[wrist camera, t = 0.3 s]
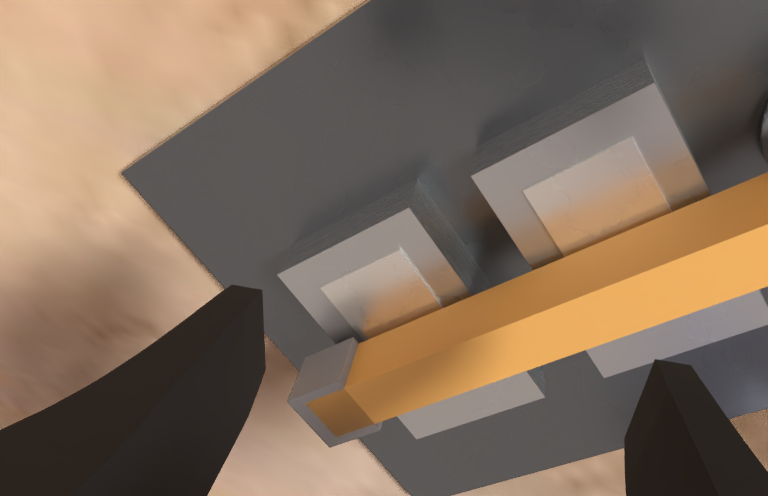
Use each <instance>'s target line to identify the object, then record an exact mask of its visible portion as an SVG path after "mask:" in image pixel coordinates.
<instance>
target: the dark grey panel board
mask: <svg viewBox="0 0 768 496" xmlns="http://www.w3.org/2000/svg"><path fill="white" fill-rule="evenodd" d="M643 59H645V60H646V62H647V64H648V66H649V68H650V70H651V72H652V74H653V76H654V78H655V80H656V82H657V84H658V86H659V88H660V90H661V92H662V94H663V96H664V98H665V100H666V102H667V104H668V106H669V108H670V109H671V111H672V113H673V115H674V117H675V119H676V121H677V123H678V125H679V127H680V129H681V131H682V133H683V135H684V137H685V139H686V141H687V143H688V145H689V147H690V149H691V151H692V153H693V155H694V157H695V159H696V161H697V163H698V165H699V167H700V169H701V171H702V173H703V175H704V177H705V179H706V181H707V183H708V185H709V187H710V189H711V191H712V193H713V195H714V194H717V193H719V192H721V191H724V190H726V189H729V188H731V187H733V186H736V185H738V184H741V183H743V182H745V181H748V180H750V179H752V178H755V177H757V176H760V175H762V174H764V173H767V172H768V0H366V1H364V2H363V3H361V4H360V5H359V6H357V7H356V8H354V9H353V10H351V11H350V12H348V13H347V14H346V15H344V16H343V17H341V18H340V19H338V20H337V21H335V22H334V23H333V24H331V25H330V26H328V27H327V28H325V29H324V30H322V31H321V32H320V33H318V34H317V35H315V36H314V37H312V38H311V39H309V40H308V41H307V42H305V43H304V44H302V45H301V46H299V47H298V48H297V49H295V50H294V51H292V52H291V53H289V54H288V55H286V56H285V57H284V58H282V59H281V60H279V61H278V62H276V63H275V64H273V65H272V66H271V67H269V68H268V69H266V70H265V71H263V72H262V73H260V74H259V75H258V76H256V77H255V78H253V79H252V80H250V81H249V82H247V83H246V84H245V85H243V86H242V87H240V88H239V89H237V90H236V91H234V92H233V93H232V94H230V95H229V96H227V97H226V98H224V99H223V100H222V101H220V102H219V103H217V104H216V105H214V106H213V107H211V108H210V109H209V110H207V111H206V112H204V113H203V114H201V115H200V116H198V117H197V118H196V119H194V120H193V121H191V122H190V123H188V124H187V125H185V126H184V127H183V128H181V129H180V130H178V131H177V132H175V133H174V134H172V135H171V136H170V137H168V138H167V139H165V140H164V141H162V142H161V143H159V144H158V145H157V146H155V147H154V148H152V149H151V150H149V151H148V152H147V153H145V154H144V155H142V156H141V157H139V158H138V159H136V160H135V161H134V162H132V163H131V164H130V165H129V166H128V167H127V168H126V169H125V170H124V171H122V172H121V173H122V174H123V175H124V176H125V177H126V179H127V180H128V181H129V182H130V183H131V184H132V185H133V186H134V187H135V189H136V190H137V191H138V192H139V193H140V194H141V195H142V196H143V198H144V199H145V200H146V201H147V202H148V203H149V204H150V205H151V206H152V208H153V209H154V210H155V211H156V212H157V213H158V214H159V215H160V216H161V218H162V219H163V220H164V221H165V222H166V223H167V224H168V225H169V227H170V228H171V229H172V230H173V231H174V232H175V233H176V234H177V235H178V237H179V238H180V239H181V240H182V241H183V242H184V243H185V244H186V245H187V247H188V248H189V249H190V250H191V251H192V252H193V253H194V254H195V256H196V257H197V258H198V259H199V260H200V261H201V262H202V263H203V264H204V266H205V267H206V268H207V269H208V270H209V271H210V272H211V273H212V274H213V276H214V277H215V278H216V279H217V280H218V281H219V282H220V283H221V285H222V286H223V287H224V288H225V289H226V288H228V287H229V286H230V285H237V286H243V287H249V288H255V289H260V290H262V291H263V317H264V333H265V334H266V335H267V336H268V337H269V338H270V339H271V340H272V341H273V343H274V344H275V345H276V346H277V347H278V348H279V349H280V350H281V351H282V353H283V354H284V355H285V356H286V357H287V358H288V359H289V360H290V362H291V363H292V364H293V365H294V366H295V367H296V368H297V369H298V370H299V371H300V369H301V367H302V364H303V362H304V359H305V357H308V356H310V355H312V354H315V353H317V352H319V351H322V350H324V349H326V348H329V347H331V346H333V345H336V344H335V343H334V342H333V340H332V339H331V338H330V337H329V336H328V334H327V333H326V332H325V331H324V330H323V329H322V327H321V326H320V325H319V324H318V323H317V322H316V320H315V319H314V318H313V317H312V316H311V314H310V313H309V312H308V311H307V310H306V309H305V307H304V306H303V305H302V304H301V303H300V302H299V300H298V299H297V298H296V297H295V296H294V294H293V293H292V292H291V291H290V290H289V289H288V287H287V286H286V285H285V284H284V283H283V281H282V280H281V279H280V278H279V277H278V276H277V274H278V272H279V270H280V268H281V266H282V264H283V263H284V261H285V259H286V257H287V255H288V253H289V251H290V250H291V248H292V246H293V244H294V243H296V242H298V241H300V240H302V239H304V238H306V237H307V236H309V235H311V234H313V233H315V232H317V231H319V230H321V229H323V228H324V227H326V226H328V225H330V224H332V223H334V222H336V221H338V220H340V219H342V218H343V217H345V216H347V215H349V214H351V213H353V212H355V211H357V210H359V209H360V208H362V207H364V206H366V205H368V204H370V203H372V202H374V201H376V200H377V199H379V198H381V197H383V196H385V195H387V194H389V193H391V192H393V191H395V190H396V189H398V188H400V187H402V186H404V185H406V184H408V183H410V182H412V181H413V180H415V179H417V178H419V180H420V181H421V183H422V184H423V186H424V187H425V188H426V190H427V191H428V193H429V194H430V196H431V197H432V199H433V200H434V201H435V203H436V204H437V206H438V207H439V209H440V210H441V211H442V213H443V214H444V216H445V217H446V219H447V220H448V221H449V223H450V224H451V226H452V227H453V229H454V230H455V232H456V233H457V234H458V236H459V237H460V239H461V240H462V242H463V243H464V244H465V246H466V247H467V249H468V250H469V252H470V253H471V254H472V256H473V257H474V259H475V260H476V262H477V263H478V265H479V266H480V267H481V269H482V270H483V272H484V273H485V275H486V276H487V277H488V279H489V280H490V282H491V283H492V285H493V286H494V287H495V286H497V285H500V284H502V283H504V282H507V281H509V280H512V279H514V278H516V277H519V276H521V275H524V274H526V273H528V272H531V271H533V270H532V268H531V267H530V265H529V264H528V262H527V261H526V259H525V258H524V256H523V255H522V253H521V252H520V250H519V249H518V247H517V246H516V244H515V243H514V241H513V239H512V238H511V236H510V235H509V233H508V232H507V230H506V229H505V227H504V226H503V224H502V223H501V221H500V220H499V218H498V217H497V215H496V214H495V212H494V211H493V209H492V208H491V206H490V205H489V203H488V202H487V200H486V199H485V197H484V196H483V194H482V193H481V191H480V190H479V188H478V186H477V185H476V183H475V182H474V180H473V179H472V177H471V172H472V166H473V160H474V155H475V149H476V147H478V146H480V145H482V144H484V143H485V142H487V141H489V140H491V139H493V138H495V137H497V136H499V135H501V134H502V133H504V132H506V131H508V130H510V129H512V128H514V127H516V126H518V125H520V124H521V123H523V122H525V121H527V120H529V119H531V118H533V117H535V116H537V115H538V114H540V113H542V112H544V111H546V110H548V109H550V108H552V107H554V106H555V105H557V104H559V103H561V102H563V101H565V100H567V99H569V98H571V97H573V96H574V95H576V94H578V93H580V92H582V91H584V90H586V89H588V88H590V87H591V86H593V85H595V84H597V83H599V82H601V81H603V80H605V79H607V78H609V77H610V76H612V75H614V74H616V73H618V72H620V71H622V70H624V69H626V68H627V67H629V66H631V65H633V64H635V63H637V62H639V61H641V60H643ZM761 292H762V294H763V296H764V298H765V301H766V303H767V305H768V286H767V287H765V288H762V289H761ZM661 360H664V361H669V362H675V363H681V364H686V365H691V366H692V368H693V369H694V370H695V372H696V373H697V375H698V376H699V377H700V379H701V380H702V382H703V383H704V385H705V386H706V387H707V389H708V390H709V392H710V393H711V395H712V396H713V398H714V399H715V400H716V402H717V403H718V405H719V406H720V408H721V409H722V411H723V412H724V413H725V415H726V416H727V418H728V419H730V418H734V417H738V416H741V415H745V414H749V413H752V412H756V411H759V410H763V409H767V408H768V325H765V326H762V327H759V328H756V329H753V330H750V331H747V332H744V333H741V334H738V335H735V336H732V337H729V338H726V339H723V340H720V341H716V342H713V343H710V344H707V345H704V346H701V347H698V348H695V349H692V350H689V351H686V352H683V353H680V354H677V355H674V356H671V357H667V358H664V359H661ZM653 363H654V362H652V363H649V364H646V365H643V366H640V367H637V368H634V369H631V370H628V371H625V372H622V373H618V374H615V375H612V376H609V377H606V378H604V377H603V376H602V374H601V373H600V371H599V370H598V368H597V367H596V365H595V364H594V362H593V361H592V359H591V358H590V356H589V355H588V353H587V352H586V350H584V351H582V352H579V353H576V354H573V355H570V356H567V357H564V358H562V359H559V360H556V361H553V362H550V363H547V364H545V398H542V399H539V400H536V401H533V402H530V403H527V404H524V405H520V406H517V407H514V408H511V409H508V410H505V411H502V412H499V413H496V414H493V415H490V416H487V417H484V418H481V419H478V420H475V421H471V422H468V423H465V424H462V425H459V426H456V427H453V428H450V429H447V430H444V431H441V432H438V433H435V434H432V435H429V436H426V437H422V438H419V439H416V438H415V437H414V436H413V435H412V433H411V432H410V431H409V430H408V429H407V427H406V426H405V425H404V424H403V423H402V422H401V420H400V419H399V418H398V417H397V416H396V417H393V418H390V419H387V420H384V421H383V422H382V426H381V430H380V431H377V432H374V433H371V434H368V435H365V436H362V437H359V439H360V440H361V441H362V442H363V443H364V444H365V445H366V446H367V447H368V449H369V450H370V451H371V452H372V453H373V454H374V455H375V456H376V457H377V459H378V460H379V461H380V462H381V463H382V464H383V465H384V466H385V468H386V469H387V470H388V471H389V472H390V473H391V474H392V475H393V476H394V478H395V479H396V480H397V481H398V482H399V483H400V484H401V485H402V487H403V488H404V489H405V490H406V491H407V492H408V493H409V494H410V495H411V496H451V495H455V494H458V493H462V492H466V491H469V490H473V489H477V488H480V487H484V486H487V485H491V484H495V483H498V482H502V481H506V480H509V479H513V478H516V477H520V476H524V475H527V474H531V473H535V472H538V471H542V470H545V469H549V468H553V467H556V466H560V465H564V464H567V463H571V462H575V461H578V460H582V459H585V458H589V457H593V456H596V455H600V454H604V453H607V452H611V451H614V450H618V449H622V448H624V437H625V435H626V432H627V430H628V427H629V425H630V422H631V419H632V417H633V414H634V412H635V409H636V407H637V404H638V401H639V399H640V396H641V394H642V391H643V389H644V386H645V383H646V381H647V378H648V376H649V373H650V371H651V368H652V365H653Z"/></svg>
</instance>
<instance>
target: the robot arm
mask: <svg viewBox="0 0 768 496" xmlns="http://www.w3.org/2000/svg"><path fill="white" fill-rule="evenodd" d="M264 372H265V344H264V317H263V291H262V290H260V289H255V288H249V287H243V286H237V285H230V286H229V287H228V288H226V289H225V290H224V291H222V292H221V293H219V294H218V295H217V296H215V297H214V298H213V299H212V300H210V301H209V302H208V303H206V304H205V305H204V306H202V307H201V308H200V309H198V310H197V311H196V312H195V313H193V314H192V315H191V316H189V317H188V318H187V319H185V320H184V321H183V322H181V323H180V324H179V325H177V326H176V327H175V328H173V329H172V330H171V331H169V332H168V333H166V334H165V335H164V336H162V337H161V338H160V339H158V340H157V341H155V342H154V343H153V344H151V345H150V346H149V347H147V348H146V349H144V350H143V351H141V352H140V353H138V354H137V355H135V356H134V357H132V358H131V359H129V360H128V361H126V362H125V363H123V364H122V365H120V366H119V367H117V368H116V369H114V370H113V371H111V372H110V373H108V374H107V375H105V376H103V377H102V378H100V379H98V380H97V381H95V382H93V383H92V384H90V385H88V386H87V387H85V388H83V389H81V390H80V391H78V392H76V393H74V394H72V395H70V396H69V397H67V398H65V399H63V400H61V401H59V402H58V403H56V404H54V405H52V406H50V407H48V408H46V409H44V410H42V411H40V412H38V413H36V414H34V415H32V416H29V417H27V418H25V419H23V420H21V421H19V422H17V423H14V424H12V425H10V426H8V427H6V428H4V429H2V430H0V496H207V495H208V493H209V491H210V489H211V487H212V485H213V483H214V482H215V480H216V478H217V476H218V474H219V472H220V470H221V468H222V466H223V464H224V462H225V461H226V459H227V457H228V455H229V453H230V451H231V449H232V447H233V445H234V443H235V441H236V439H237V437H238V436H239V434H240V432H241V430H242V428H243V426H244V424H245V422H246V420H247V418H248V416H249V413H250V411H251V408H252V405H253V403H254V400H255V397H256V395H257V392H258V389H259V386H260V384H261V381H262V378H263V375H264ZM624 448H625V483H626V496H768V472H767V471H766V469H765V468H764V467H763V465H762V464H761V463H760V461H759V460H758V459H757V457H756V456H755V455H754V453H753V452H752V451H751V449H750V448H749V447H748V445H747V444H746V443H745V441H744V440H743V439H742V437H741V436H740V435H739V433H738V432H737V430H736V429H735V428H734V426H733V425H732V423H731V422H730V420H729V419H728V418H727V416H726V415H725V413H724V412H723V411H722V409H721V408H720V406H719V405H718V403H717V402H716V400H715V399H714V398H713V396H712V395H711V393H710V392H709V390H708V389H707V387H706V386H705V385H704V383H703V382H702V380H701V379H700V377H699V376H698V375H697V373H696V372H695V370H694V369H693V368H692V366H691V365H686V364H681V363H675V362H669V361H664V360H658V359H655V360H654V363H653V365H652V368H651V371H650V373H649V376H648V378H647V381H646V383H645V386H644V389H643V391H642V394H641V396H640V399H639V401H638V404H637V407H636V409H635V412H634V414H633V417H632V419H631V422H630V425H629V427H628V430H627V432H626V435H625V437H624Z"/></svg>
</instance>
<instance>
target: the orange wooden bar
mask: <svg viewBox="0 0 768 496" xmlns="http://www.w3.org/2000/svg"><path fill="white" fill-rule="evenodd" d="M767 286H768V172H767V173H764V174H762V175H760V176H757V177H755V178H752V179H750V180H748V181H745V182H743V183H741V184H738V185H736V186H733V187H731V188H729V189H726V190H724V191H721V192H719V193H717V194H714V195H712V196H710V197H707V198H705V199H702V200H700V201H698V202H695V203H693V204H690V205H688V206H686V207H683V208H681V209H679V210H676V211H674V212H671V213H669V214H667V215H664V216H662V217H659V218H657V219H655V220H652V221H650V222H648V223H645V224H643V225H640V226H638V227H636V228H633V229H631V230H628V231H626V232H624V233H621V234H619V235H617V236H614V237H612V238H609V239H607V240H605V241H602V242H600V243H597V244H595V245H593V246H590V247H588V248H586V249H583V250H581V251H578V252H576V253H574V254H571V255H569V256H566V257H564V258H562V259H559V260H557V261H555V262H552V263H550V264H547V265H545V266H543V267H540V268H538V269H535V270H533V271H531V272H528V273H526V274H524V275H521V276H519V277H516V278H514V279H512V280H509V281H507V282H504V283H502V284H500V285H497V286H495V287H493V288H490V289H488V290H485V291H483V292H481V293H478V294H476V295H473V296H471V297H469V298H466V299H464V300H462V301H459V302H457V303H454V304H452V305H450V306H447V307H445V308H442V309H440V310H438V311H435V312H433V313H431V314H428V315H426V316H423V317H421V318H419V319H416V320H414V321H411V322H409V323H407V324H404V325H402V326H400V327H397V328H395V329H392V330H390V331H388V332H385V333H383V334H380V335H378V336H376V337H373V338H371V339H369V340H366V341H364V342H361V343H359V344H358V342H357V341H356V340H355V339H354V338H353V337H352V338H350V339H348V340H345V341H343V342H340V343H338V344H336V345H333V346H331V347H329V348H326V349H324V350H322V351H319V352H317V353H315V354H312V355H310V356H308V357H305V359H304V362H303V364H302V367H301V369H300V371H299V374H298V376H297V379H296V381H295V383H294V386H293V388H292V391H291V393H290V396H289V398H288V400H287V402H288V403H289V404H290V406H291V407H292V408H293V409H294V410H295V411H296V412H297V413H298V414H299V415H300V416H301V417H302V418H303V420H304V421H305V422H306V423H307V424H308V425H309V426H310V427H311V428H312V429H313V430H314V431H315V432H316V434H317V435H318V436H319V437H320V438H321V439H322V440H323V441H324V442H325V443H326V444H327V445H328V446H329V448H330V447H333V446H336V445H339V444H342V443H345V442H348V441H351V440H353V439H356V438H359V437H362V436H365V435H368V434H371V433H374V432H377V431H380V430H381V426H382V422H383V421H384V420H387V419H390V418H393V417H396V416H399V415H402V414H404V413H407V412H410V411H413V410H416V409H419V408H422V407H424V406H427V405H430V404H433V403H436V402H439V401H442V400H444V399H447V398H450V397H453V396H456V395H459V394H462V393H464V392H467V391H470V390H473V389H476V388H479V387H482V386H484V385H487V384H490V383H493V382H496V381H499V380H502V379H504V378H507V377H510V376H513V375H516V374H519V373H522V372H524V371H527V370H530V369H533V368H536V367H539V366H542V365H544V364H547V363H550V362H553V361H556V360H559V359H562V358H564V357H567V356H570V355H573V354H576V353H579V352H582V351H584V350H587V349H590V348H593V347H596V346H599V345H602V344H604V343H607V342H610V341H613V340H616V339H619V338H622V337H624V336H627V335H630V334H633V333H636V332H639V331H642V330H644V329H647V328H650V327H653V326H656V325H659V324H662V323H664V322H667V321H670V320H673V319H676V318H679V317H682V316H684V315H687V314H690V313H693V312H696V311H699V310H702V309H704V308H707V307H710V306H713V305H716V304H719V303H722V302H724V301H727V300H730V299H733V298H736V297H739V296H742V295H745V294H747V293H750V292H753V291H756V290H759V289H762V288H765V287H767Z"/></svg>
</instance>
